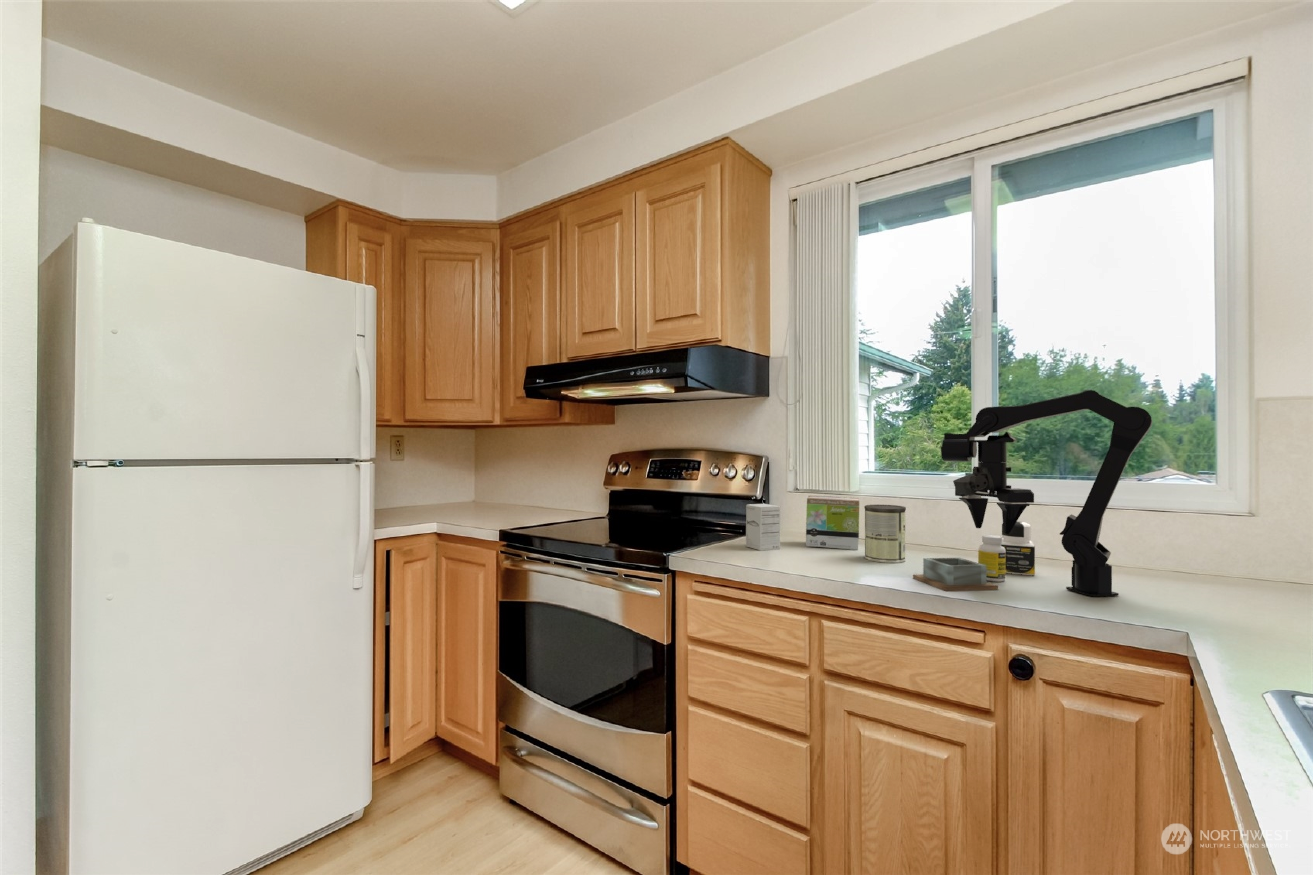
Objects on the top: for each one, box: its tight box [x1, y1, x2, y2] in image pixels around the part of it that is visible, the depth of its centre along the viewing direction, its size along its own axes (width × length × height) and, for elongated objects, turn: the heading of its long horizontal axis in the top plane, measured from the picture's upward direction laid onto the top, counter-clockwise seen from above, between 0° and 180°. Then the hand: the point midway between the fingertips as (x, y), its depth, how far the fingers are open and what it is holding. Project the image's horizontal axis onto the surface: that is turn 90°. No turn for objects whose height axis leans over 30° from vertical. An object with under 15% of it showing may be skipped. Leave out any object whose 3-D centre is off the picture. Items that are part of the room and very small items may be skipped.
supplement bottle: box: [977, 534, 1006, 583], centre depth 135 cm, size 5×5×10 cm
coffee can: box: [863, 504, 907, 564], centre depth 158 cm, size 10×10×14 cm
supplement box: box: [745, 503, 781, 551], centre depth 174 cm, size 7×7×13 cm
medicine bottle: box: [1001, 521, 1036, 576], centre depth 144 cm, size 7×7×12 cm
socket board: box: [912, 557, 999, 592], centre depth 131 cm, size 12×12×5 cm
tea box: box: [805, 495, 860, 551], centre depth 178 cm, size 15×10×15 cm, turn 73°
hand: (992, 531), depth 135 cm, fingers open, 9 cm apart
